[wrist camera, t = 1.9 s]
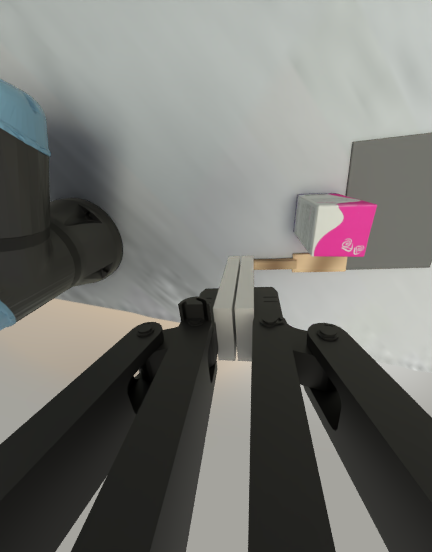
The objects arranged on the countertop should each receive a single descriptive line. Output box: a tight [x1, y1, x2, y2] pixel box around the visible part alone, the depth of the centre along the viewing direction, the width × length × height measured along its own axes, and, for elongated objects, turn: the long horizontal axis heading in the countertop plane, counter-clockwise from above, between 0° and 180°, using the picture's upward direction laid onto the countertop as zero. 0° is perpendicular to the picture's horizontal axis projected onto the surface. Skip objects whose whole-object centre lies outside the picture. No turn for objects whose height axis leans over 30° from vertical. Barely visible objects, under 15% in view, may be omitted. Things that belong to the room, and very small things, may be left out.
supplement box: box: [294, 193, 377, 257], centre depth 29 cm, size 6×6×12 cm
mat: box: [346, 133, 432, 270], centre depth 32 cm, size 13×18×1 cm
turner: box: [253, 253, 347, 272], centre depth 37 cm, size 16×3×1 cm, turn 95°
